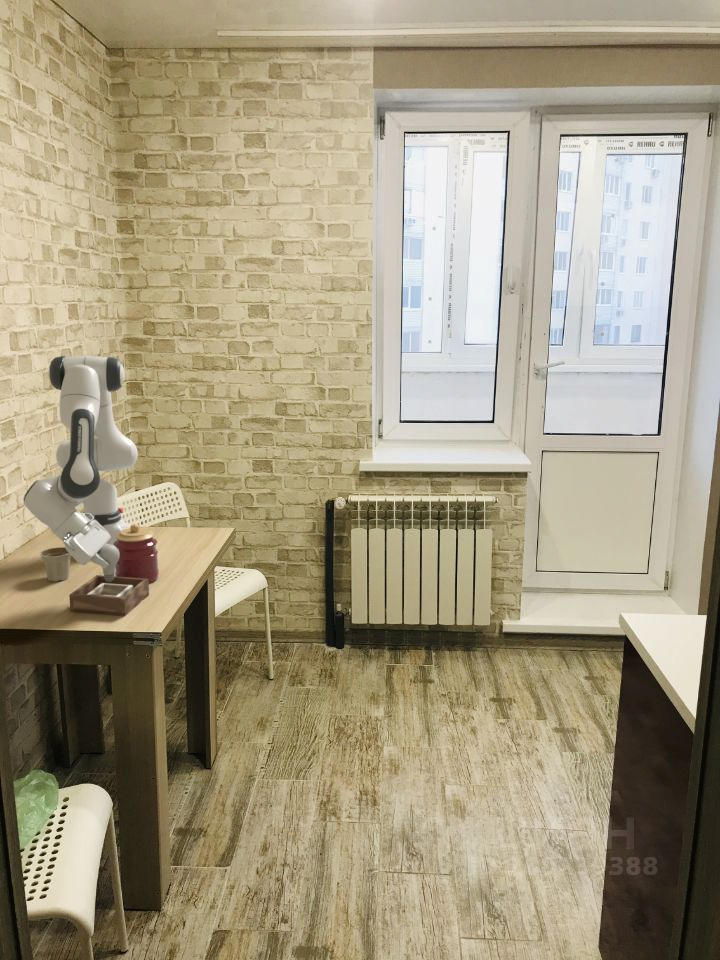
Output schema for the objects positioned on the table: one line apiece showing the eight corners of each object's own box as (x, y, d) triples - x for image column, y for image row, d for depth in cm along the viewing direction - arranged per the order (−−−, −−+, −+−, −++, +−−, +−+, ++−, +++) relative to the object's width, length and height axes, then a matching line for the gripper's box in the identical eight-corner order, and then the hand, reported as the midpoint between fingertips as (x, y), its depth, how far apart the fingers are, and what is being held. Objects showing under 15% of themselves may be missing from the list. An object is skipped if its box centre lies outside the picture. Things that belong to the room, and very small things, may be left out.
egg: (108, 577, 225) (106, 540, 223) (125, 580, 223) (123, 543, 221) (93, 583, 219) (91, 546, 217) (111, 586, 217) (109, 548, 215)
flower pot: (38, 584, 236) (36, 557, 234) (45, 573, 245) (43, 547, 243) (71, 583, 238) (69, 556, 236) (77, 572, 247) (75, 546, 245)
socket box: (97, 591, 231) (96, 575, 230) (149, 594, 229) (148, 578, 228) (70, 611, 216) (69, 594, 215) (125, 616, 214) (124, 598, 213)
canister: (114, 588, 234) (111, 531, 230) (115, 573, 246) (112, 519, 242) (159, 584, 238) (157, 528, 234) (158, 570, 250) (156, 517, 246)
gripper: (68, 531, 207) (107, 566, 209) (92, 511, 227) (127, 544, 229) (52, 547, 208) (91, 582, 210) (77, 526, 228) (113, 558, 230)
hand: (110, 562), depth 220 cm, fingers closed on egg, 6 cm apart
